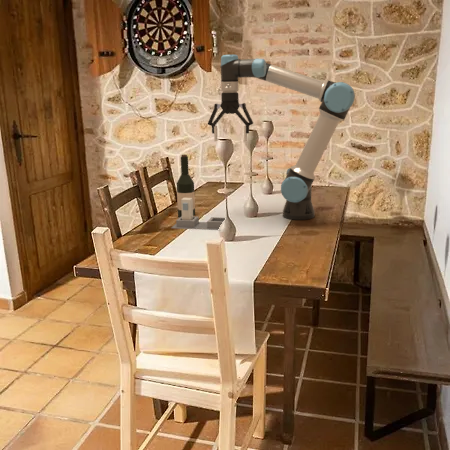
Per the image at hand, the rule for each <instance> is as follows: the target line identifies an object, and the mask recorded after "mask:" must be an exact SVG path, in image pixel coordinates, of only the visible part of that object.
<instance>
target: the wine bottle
mask: <svg viewBox="0 0 450 450" xmlns="http://www.w3.org/2000/svg"><path fill="white" fill-rule="evenodd" d="M180 170H181V171H180V173H181V175H180V176H179V178H178V180H177V181H176V199H177V201H176V202H177V218H178V219H179V218H180V217H181V216H182V209H181V199H183V198H192V199H193V216H194V217H195V215H196V198H195V182H194V180H193V178H192V177H191V176H190V174H189V156H188V155H187V154H181V156H180Z"/></svg>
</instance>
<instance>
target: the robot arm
mask: <svg viewBox="0 0 450 450" xmlns="http://www.w3.org/2000/svg"><path fill="white" fill-rule="evenodd" d="M239 78H240V79H241V78H254V79H255V78H256V79H259V80H262V81H264V82H265V81H266V82H268V83H271V84H274V85H278V86H280V87H283V88H286V89H289V90H292V91H294V92H297V93H300V94H304V95H306V96H309V97H313V98H316V99H318V101H319V102H320V105H319V107H318V111H319V115H318V118H317V120H316V122H315V124H314V126H313V128H312V130H311V132H310V134H309V137H308V139H307V141H306V143H305V145H304V147H303V148H302V150H301V151H302V152H301V153H300V155H299V157H298V159H297V161H296V164H294V165H292V166H290V168H287V169H286V173H285V174H286V176H285V177H284V179H283V181H282V183H280V184H281V185H280V193H281V195H282V196H283V198H284V199H285V204H284V206H283V209H282V217H283V218H284V219H288V220H295V221H302V220H303V221H305V220H310V219H313V218H315V213H316V212H315V209H314V205H313V202H312V190H313V189H312V185H313V183H314V181H315V179H316V177H315V174H314V173H315V171H316V169H317V167H318V165H319V163H320V161H321V159H322V157H323V155H324V154H325V150H326V149H327V147H328V145H329V144H330V142H331V139H332V137H333V135H334V133H335V132H336V129H337V127H338V125H339V123H340V122H342V121H345V119H346V117H347V115H348V114H349V111H350V109H351V107H352V106H353V105H354V102H355V97H356V95H355V91H354V89H353V87H352V86H351V85H350V84H348V83H346V82H343V81H339V82H335V81H332V80H328V79H327V80H325V81H324V80H320V79H318V78H315V77H312V76H308V75H306V74H303V73H299V72H296V71H293V70H289V69H287V68H284V67H280V66H277V65H274V64H270V63H268V62H266V60H265V58H257V57H256V58H250V59H249V58H247V59H243V58H242V59H240V58H239V56H238V55H237V54H223V55H221V57H220V79H221V80H220V85H221V86H220V88H221V89H220V91H221V95H220V97H221V99H220V100H221V104H220V103H214V106H213V107H214V108H213V110H212V113H211V115H210V116H209V120H208V121H207V125H208V126H211V133H212V134H213V137H214V138H213V139H214V142H217V141H218V126H217V124H218V122H220V120H221V118H222V117H223V116H224V115H225V114H226V115H228V114H231V115H234V114H235V115H236V116H237V117H238V118H239V119H240V121H241V122H242V123H243V124H244V126H243V137H244V138H243V142H247V141H248V134H250V126H252V125H254V121H253V119H252V117H251V115H250V112H249V111H248V109H247V104H246V103H245V102H243V103H239V102H240V101H239V98H240V97H239V92H238V91H239ZM239 108H241V109H242V111H243V113H244V115H245V117H246V118H245V117H244V116H243V114H242V113H241V112H240V111H239ZM219 109H221V112H220V113H219V114H218V116H217V117H216V114H217V112H218V110H219ZM215 117H216V118H215ZM214 119H215V120H214Z"/></svg>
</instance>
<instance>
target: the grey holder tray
mask: <svg viewBox="0 0 450 450" xmlns="http://www.w3.org/2000/svg"><path fill="white" fill-rule="evenodd" d="M225 218H226V217H215V216H214V217H213V216H211V217H210V218H209V219H208V220H207V221H200V220H199V216H195V215H194V216H193V220H182V216H181V217H180V218H179V217H178V218H177V219H176V220H175V221H176V223H175V224H174V225H172V226H171V227H170V228H171V229H177V230H178V229H182V230H183V229H184V230H205V231H206V230H207V231H209V230H210V231H219V230H218V229H219V227H220V225H221V224H222V222H223V221H224V220H225Z"/></svg>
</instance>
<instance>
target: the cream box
mask: <svg viewBox="0 0 450 450" xmlns="http://www.w3.org/2000/svg"><path fill="white" fill-rule="evenodd" d="M181 209H182V220H193V199H192V198H183V199H181Z"/></svg>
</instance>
